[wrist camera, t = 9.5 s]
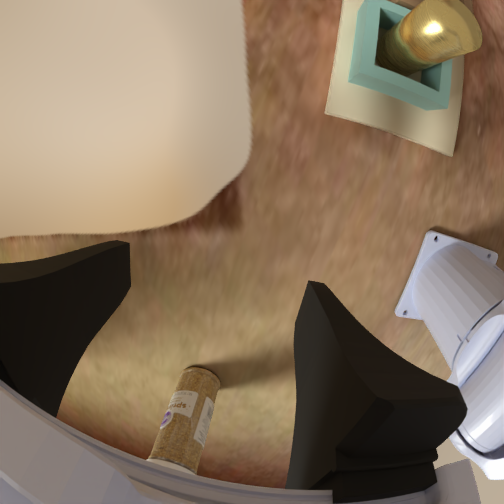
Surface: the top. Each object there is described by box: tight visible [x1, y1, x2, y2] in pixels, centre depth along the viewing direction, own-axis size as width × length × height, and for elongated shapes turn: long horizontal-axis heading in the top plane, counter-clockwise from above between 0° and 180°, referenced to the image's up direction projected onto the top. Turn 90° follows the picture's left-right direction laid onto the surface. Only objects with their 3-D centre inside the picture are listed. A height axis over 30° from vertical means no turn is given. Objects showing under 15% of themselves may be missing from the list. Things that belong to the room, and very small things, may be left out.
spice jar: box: [146, 367, 220, 475], centre depth 22 cm, size 5×5×13 cm
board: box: [325, 0, 464, 157], centre depth 12 cm, size 10×18×1 cm, turn 170°
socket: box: [348, 0, 452, 111], centre depth 12 cm, size 6×6×3 cm
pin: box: [375, 0, 482, 77], centre depth 10 cm, size 3×3×8 cm
